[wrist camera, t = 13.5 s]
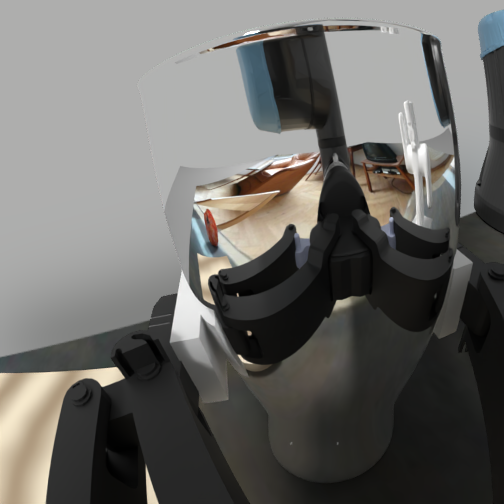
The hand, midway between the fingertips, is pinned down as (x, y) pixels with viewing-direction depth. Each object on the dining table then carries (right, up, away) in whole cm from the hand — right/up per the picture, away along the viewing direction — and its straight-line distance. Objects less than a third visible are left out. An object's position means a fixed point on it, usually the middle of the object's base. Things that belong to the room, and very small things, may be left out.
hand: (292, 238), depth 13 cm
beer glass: (+2, -9, 0) cm, 10 cm away
